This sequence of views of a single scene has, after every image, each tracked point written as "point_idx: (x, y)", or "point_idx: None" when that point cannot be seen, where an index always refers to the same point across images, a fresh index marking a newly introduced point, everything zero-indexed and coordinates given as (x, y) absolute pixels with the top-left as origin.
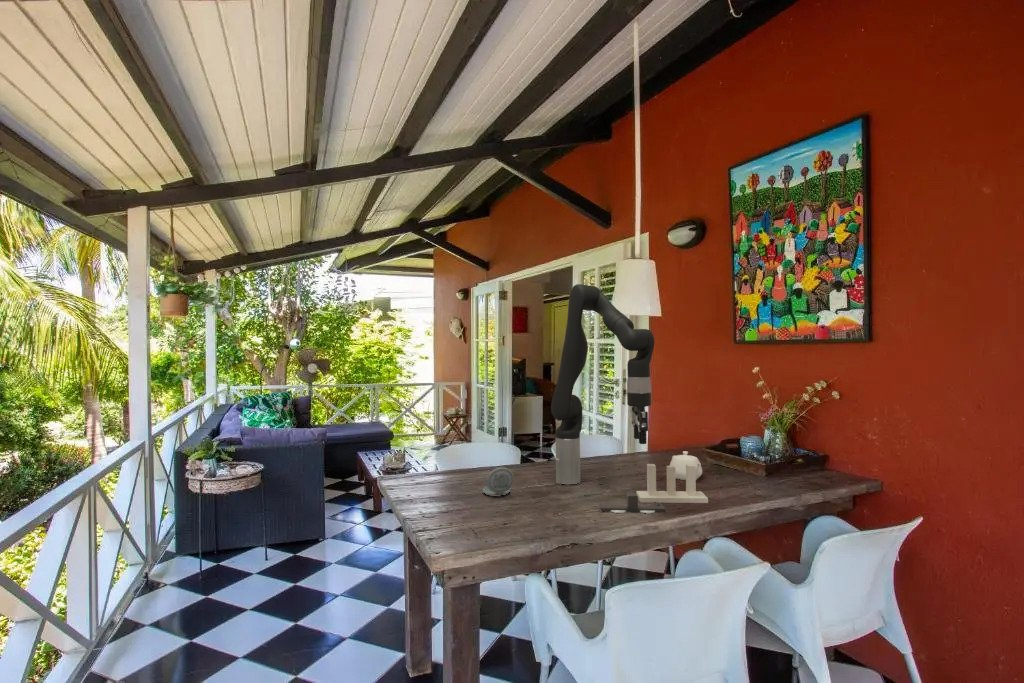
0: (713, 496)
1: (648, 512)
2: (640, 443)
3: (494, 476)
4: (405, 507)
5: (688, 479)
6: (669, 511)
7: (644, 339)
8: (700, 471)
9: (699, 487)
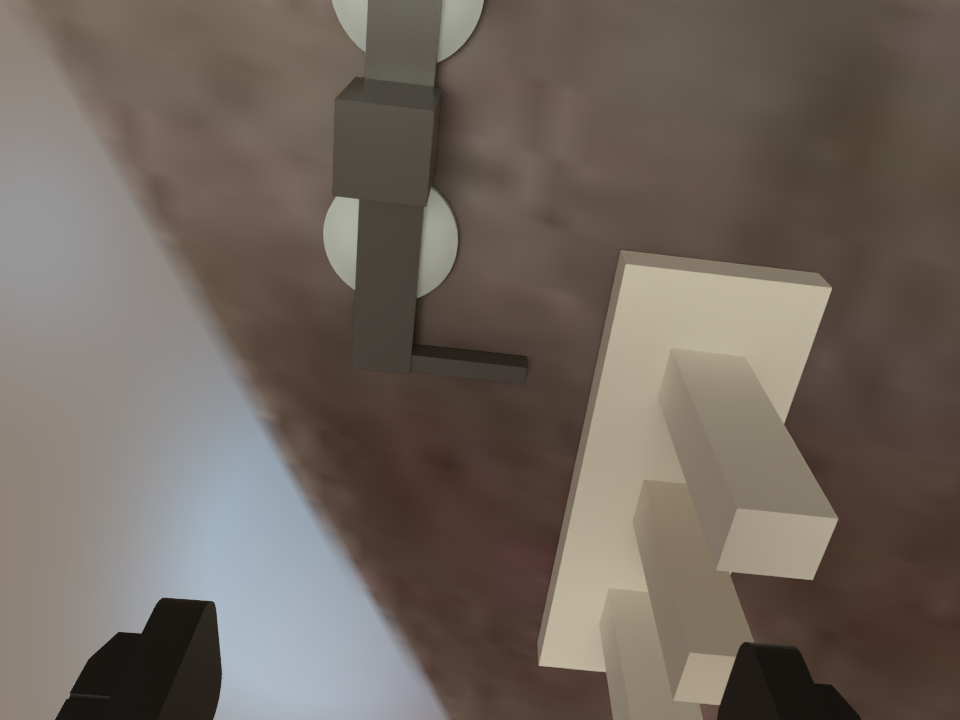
0: None
1: (323, 232)
2: (167, 610)
3: None
4: None
5: (623, 686)
6: (383, 387)
7: None
8: None
9: (863, 703)
